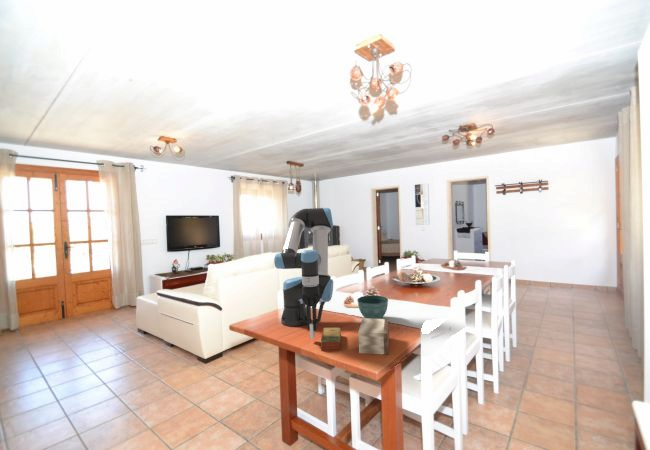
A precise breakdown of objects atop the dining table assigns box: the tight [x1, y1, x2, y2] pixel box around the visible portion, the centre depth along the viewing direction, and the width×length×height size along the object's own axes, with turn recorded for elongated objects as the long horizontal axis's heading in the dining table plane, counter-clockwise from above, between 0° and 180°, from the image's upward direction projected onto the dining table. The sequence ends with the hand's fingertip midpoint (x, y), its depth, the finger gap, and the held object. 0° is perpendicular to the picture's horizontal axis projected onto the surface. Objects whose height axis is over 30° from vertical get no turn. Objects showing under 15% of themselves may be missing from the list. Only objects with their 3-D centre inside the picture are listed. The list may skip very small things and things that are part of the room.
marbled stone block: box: [357, 317, 390, 356], centre depth 128 cm, size 12×17×8 cm
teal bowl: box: [357, 294, 389, 319], centre depth 161 cm, size 16×16×11 cm
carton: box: [320, 327, 342, 352], centre depth 133 cm, size 8×16×4 cm, turn 177°
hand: (312, 337), depth 134 cm, fingers closed
